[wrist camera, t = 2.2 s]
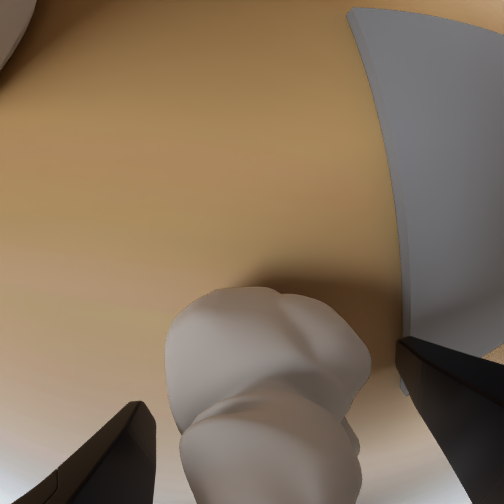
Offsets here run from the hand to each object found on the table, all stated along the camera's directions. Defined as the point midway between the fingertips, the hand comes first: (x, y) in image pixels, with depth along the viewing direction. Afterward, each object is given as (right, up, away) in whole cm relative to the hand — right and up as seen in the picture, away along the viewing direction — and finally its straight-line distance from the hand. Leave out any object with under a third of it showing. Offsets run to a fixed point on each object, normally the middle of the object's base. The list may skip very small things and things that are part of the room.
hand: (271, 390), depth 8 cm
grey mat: (+9, +6, +1) cm, 11 cm away
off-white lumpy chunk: (0, +1, +2) cm, 2 cm away
